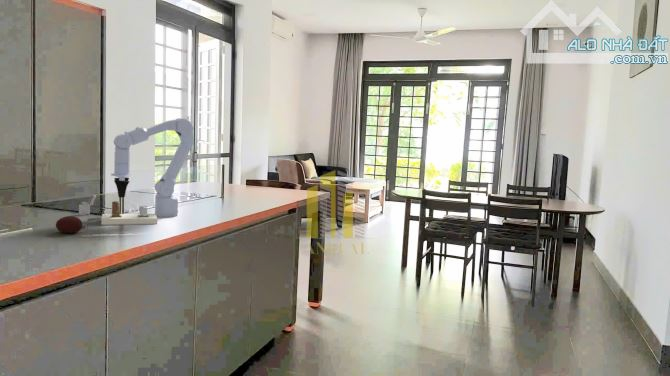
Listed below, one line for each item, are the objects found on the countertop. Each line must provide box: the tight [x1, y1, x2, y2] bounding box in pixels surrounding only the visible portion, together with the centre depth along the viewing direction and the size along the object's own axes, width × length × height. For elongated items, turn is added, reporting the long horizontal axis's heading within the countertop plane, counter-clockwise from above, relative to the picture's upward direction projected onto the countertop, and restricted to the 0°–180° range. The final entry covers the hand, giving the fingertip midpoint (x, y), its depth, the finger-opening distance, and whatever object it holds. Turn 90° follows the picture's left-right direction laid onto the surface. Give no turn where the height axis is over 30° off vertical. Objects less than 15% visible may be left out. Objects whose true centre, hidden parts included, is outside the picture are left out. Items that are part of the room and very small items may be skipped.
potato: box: [55, 215, 84, 234], centre depth 168 cm, size 7×8×6 cm
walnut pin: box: [111, 200, 121, 217], centre depth 186 cm, size 3×3×8 cm
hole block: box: [100, 213, 158, 226], centre depth 189 cm, size 20×10×3 cm, turn 115°
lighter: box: [78, 194, 97, 216], centre depth 201 cm, size 7×2×8 cm, turn 156°
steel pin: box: [139, 205, 148, 217], centre depth 191 cm, size 3×3×6 cm
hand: (121, 195), depth 197 cm, fingers open, 7 cm apart
